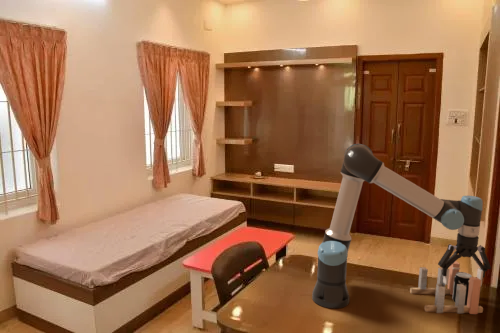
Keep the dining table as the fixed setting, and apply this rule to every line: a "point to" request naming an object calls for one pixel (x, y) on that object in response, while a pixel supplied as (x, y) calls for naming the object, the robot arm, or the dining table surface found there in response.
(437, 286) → the steel collars
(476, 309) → the terracotta aperture
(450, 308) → the oak channel
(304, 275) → the dining table surface
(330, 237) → the robot arm
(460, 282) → the beverage can
